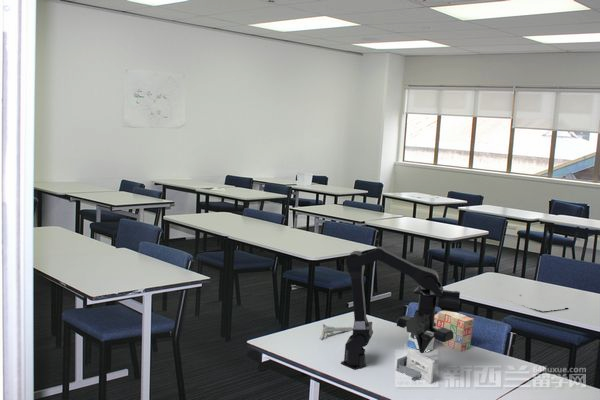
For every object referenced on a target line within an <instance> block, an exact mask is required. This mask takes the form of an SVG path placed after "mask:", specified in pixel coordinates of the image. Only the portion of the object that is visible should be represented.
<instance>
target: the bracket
mask: <svg viewBox="0 0 600 400" xmlns="http://www.w3.org/2000/svg"><path fill="white" fill-rule="evenodd" d="M396 361H397V362H396V368H395V369H396V370H395V371H396V372H398V373H400V374H403V373H405V374H406V375H405V374H404V375H405V376H408V377H410V378H411V380H412V381H414V382H416V381H417V380H419V381H420V380H421V379H420V374H421V372H419V371H416V370H414V369H411V368H409V367H407V366H406V364H407V356H405V355H404V356H403V357H400V358H398V359H396Z"/></svg>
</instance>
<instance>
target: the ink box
mask: <svg viewBox="0 0 600 400" xmlns="http://www.w3.org/2000/svg"><path fill="white" fill-rule="evenodd" d="M412 317H414V315H413V316H412ZM434 323H436V321H435V320H434ZM433 328H435V326H434V327H433ZM407 339H408V341H407V347H409V346H410V347H409V348H411V347H413V348H412V349H414V348H417V349H419V346H418V342H417V339H416V337H415V335H414V334H412V333H411V332H408V338H407ZM434 342H435V341H434V338H433V339H432V340H431V341H430V343H429V345H428V346H427V348H426V351H428V350H432V351H433V350H434ZM417 349H416V350H417Z"/></svg>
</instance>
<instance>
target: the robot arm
mask: <svg viewBox="0 0 600 400" xmlns="http://www.w3.org/2000/svg"><path fill="white" fill-rule="evenodd" d="M377 261H379V262H381V263H383V264H385V265H387V266H389V267H391V268H393V269H395V270H396V271H399V272H401V273H403V274H405V275H406V276H408V277H410V278H411V279H412V280H413V281H414V282H416V283H417V284H418V286H417V288H415V289H414V291H413V294H415V295H418V304H417V309H415V311H414V315H413V316H414V317H413V316H409V315H403V316H400V317H398V319H397V320H396V327H400V328H401V329H402V328H403V329H405V328H406V332H407V333H409V332H411V333H412V334H414V335H415V337H416V339H417V342H418V346H419V350H418V351H419V353H420V354H424V353H425V352H424V351H425V350H426V348H427V346H428V345H429V343H430V341H431V340H432V339H433V338H435V339H436V340H439V341H442V342H446V341H449V340H451V339H453V332H452V330H449V329H446V328H440V329H435V328H433V327H434V326H436V323H434V318H435V315H436V314H437V313H438V310H436V309H437V308H436V306H437V307H438V308H439V309H440V310H441V311H450V312H456V313H459V312H460V311H459V310H460V296H461V292H460V291H457V290H454V291H453V290H445V289H444V287H443V285H442V284H441V281H439V280H440V279H439V278H440V276H439V273H438V272H437V271H436V270H435V269H432V268H429V267H426V266H423V265H422V266H421V265H418V264H414V263H412V262H411V261H408V260H407V259H405V258H402V257H401V256H400V255H397V254H395V253H393V252H391V251H389V250H387V249H385V247H383V246H377V247H374V248H371V249H365V250H362V251H361V250H353V251H351V252H350V254H349V255H348V256H347V257H346V259H345V265H346V269H347V273H348V275H349V278H350V283H351V292H352V295H351V296H352V303H353V304H352V305H353V317H354V319H353V320H354V321H353V327H352V328H353V330H352V334H351V335H350V336H349V337H348V339H347V341H346V342H345V344H344V357H343V358H344V359H343V360H342V361H340V364H341V365H344V366H345V367H348V368H350V369H353V370H357V369H360V368H363V367H366V366H367V363H366V351H365V350H366V348H365V347H366V346H367V345H369V342H370V340H371V339H372V337H373V334H374V330H373V321H369V319H368V318H367V310H366V309H367V308H366V298H365V285H364V284H365V283H364V273H365V270H366V269H365V266H366V265H369V264H371V263H374V262H377ZM437 298H438V300H437ZM437 301H438V305H437Z"/></svg>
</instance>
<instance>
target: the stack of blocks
mask: <svg viewBox="0 0 600 400" xmlns="http://www.w3.org/2000/svg"><path fill="white" fill-rule="evenodd" d="M434 320H435V321H436V326H435V329H440V328H446V329H449V330H452V332H453V339H451V340H449V341H446V342H442V341H439V340H436V339H435V338H434V342H437V343H440V344H441V345H442V344H443V345H444V346H447V347H449V348H451V347H452V348H451V349H454V350H456V349H457V350H456V351H459V352H463V350H464V351H466V350H465V349H467V350H469V349H468V348H470V349H471V343H472V342H471V341H472V335H473V329H474V320H475V318H473V317H469V316H467V315H465V314H462V313H459V312H458V313H456V312H450V311H443V310H441V311H438V312H437V314H436V315H435V318H434Z"/></svg>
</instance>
